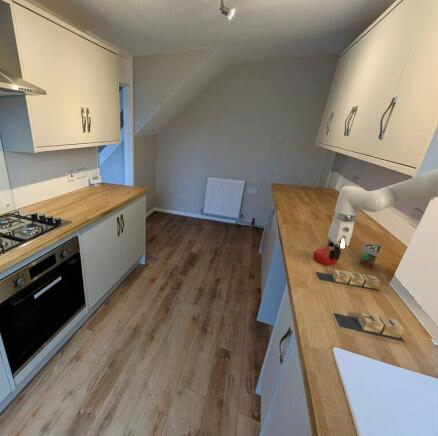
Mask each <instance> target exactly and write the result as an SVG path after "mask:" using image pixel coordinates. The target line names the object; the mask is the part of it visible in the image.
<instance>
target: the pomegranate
mask: <svg viewBox="0 0 438 436" xmlns="http://www.w3.org/2000/svg"><path fill="white" fill-rule="evenodd" d="M325 248H326V246H325V245H322V246H320V247H318V248H315V250H314V251H313V254H312V257H313V259H314V260H315V262H316V263H318V264H320V265H323V266H328V267H331V266H334V265H335V264H336V263H337V262H338V260H335V259H330V258H328V257H326V255H325V254H324V251H325Z"/></svg>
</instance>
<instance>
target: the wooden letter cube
mask: <svg viewBox="0 0 438 436" xmlns="http://www.w3.org/2000/svg"><path fill="white" fill-rule="evenodd" d="M347 273H348V274H349V276H350V279H349V281H348V283H349V284H352V285H358V286H362V285H363V282H364V280H365V279H364V278H363V276H362V274H361V273H358V272H352V271H347Z"/></svg>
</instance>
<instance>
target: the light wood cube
mask: <svg viewBox="0 0 438 436" xmlns="http://www.w3.org/2000/svg"><path fill="white" fill-rule="evenodd" d="M361 275H362V276H363V278H364V279H365V280H364V282H363V286H364V287H369V288H374V289H378V287H379V285H380V280H379V279H378V278H377V277H376V276H375V275H370V274H366V273H365V274H364V273H362V274H361Z"/></svg>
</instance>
